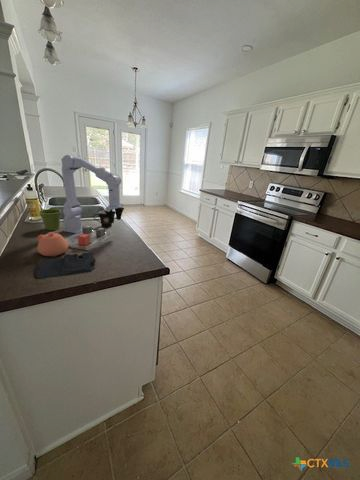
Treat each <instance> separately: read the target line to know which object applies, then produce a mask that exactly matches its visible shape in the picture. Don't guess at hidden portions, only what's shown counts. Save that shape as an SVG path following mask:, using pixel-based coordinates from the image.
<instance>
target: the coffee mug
mask: <svg viewBox="0 0 360 480" xmlns="http://www.w3.org/2000/svg"><path fill="white" fill-rule="evenodd" d="M95 216H98V218H99V219H100V220H98V219H96V218H95ZM92 217H93V219H94V220H95V221H97V222H98V223H100V224H101V228H103V229H109V228H111V227H112V225H113V223H110V222H109V219H108V216H107V214H106V213H105V210H100V211H99V212H98V213H94V214H93V216H92Z"/></svg>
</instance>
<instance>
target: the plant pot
mask: <svg viewBox="0 0 360 480" xmlns="http://www.w3.org/2000/svg"><path fill="white" fill-rule="evenodd" d="M61 212H62V210H61V209H56V208H48V209H47V208H46V209H41V210H38V212H37V213H38V214H39V216H40V217H41V220H42V222H43V224H44V228H45V230H47V231H56V230H59V229H60V219H61V217H60V216H61Z"/></svg>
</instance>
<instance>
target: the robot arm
mask: <svg viewBox="0 0 360 480" xmlns="http://www.w3.org/2000/svg"><path fill="white" fill-rule="evenodd" d="M61 164H62V165H61V174H62V180H63V186H64V194H65V197H66V198H65V199H66V201H65V203H64V204H63V210H62V211H63V212H62V213H63V215H64V217H63V219H62V220H63V221H62V223H63V232H68V233H73V234H77V233H79V232H82V228H83V227H82V218H81V217H82V214H83V211H84V210H83V208H82V205H81V203H80V202H79V201H78V199H77V198H78V196H77V190H76V184H75V178H74V173H75V172H76V171H78V170H79V169H81V168H84V169H86V170H88V171H90V172H92V173H94V174H95V175H94V176H96V178H98V180H99V179H100V180H101V181H103V182H105V184H106V185H107V189H108V206H107V207H105V210H104V211H105V213H106V214H107V216H108V219H109V222H110V223H112V224H114V223H115V217H116V220H117V221H121V219H122V215H123V212H124V210H125V208H124V206H123V203H121V198H120V196H121V195H120V194H121V193H120V185H121V183H122V178H121V177H120V176H119V175H118V174H114V173H113V172H110V171H108V170H107V169H106V167H101V166H100V167H97V166H96V165H94V164H92V163H91V162H90V161H89V160H87V159H86V158H84V157H82V156H80V155H69V154H65V155H63V157H62V158H61ZM113 210H114V211H113Z"/></svg>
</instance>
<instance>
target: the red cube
mask: <svg viewBox="0 0 360 480" xmlns="http://www.w3.org/2000/svg"><path fill="white" fill-rule="evenodd" d="M78 243H79V244H80V245H87V244H89V243H90V235H88V234H81V235H79V236H78Z"/></svg>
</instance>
